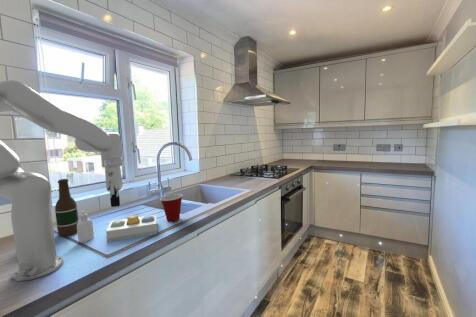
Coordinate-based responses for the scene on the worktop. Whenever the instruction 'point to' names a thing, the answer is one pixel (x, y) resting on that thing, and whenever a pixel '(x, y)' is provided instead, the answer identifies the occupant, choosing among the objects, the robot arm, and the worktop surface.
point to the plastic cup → (172, 206)
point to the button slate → (147, 219)
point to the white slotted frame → (131, 229)
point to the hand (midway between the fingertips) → (115, 205)
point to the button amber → (133, 220)
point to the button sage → (117, 223)
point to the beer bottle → (66, 211)
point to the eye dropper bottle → (85, 228)
